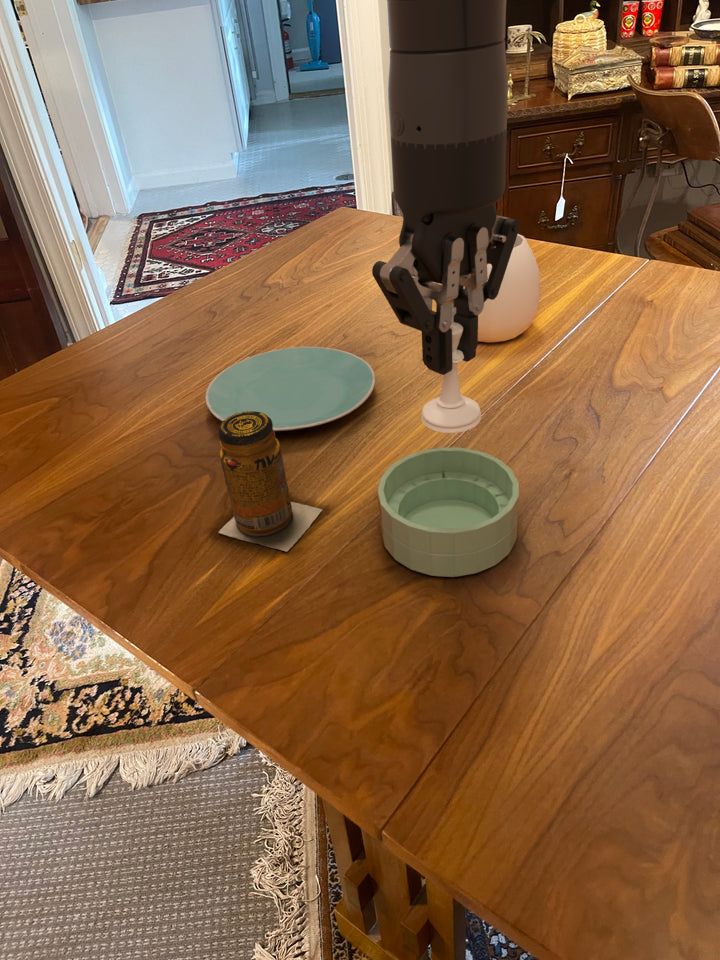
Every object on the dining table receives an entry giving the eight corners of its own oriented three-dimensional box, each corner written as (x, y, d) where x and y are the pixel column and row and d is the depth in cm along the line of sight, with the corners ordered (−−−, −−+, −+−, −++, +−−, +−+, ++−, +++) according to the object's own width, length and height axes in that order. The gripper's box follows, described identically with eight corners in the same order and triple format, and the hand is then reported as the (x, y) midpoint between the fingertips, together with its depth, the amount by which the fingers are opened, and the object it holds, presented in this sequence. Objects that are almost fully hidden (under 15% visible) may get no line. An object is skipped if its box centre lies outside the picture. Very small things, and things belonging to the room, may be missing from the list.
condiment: (256, 493, 81) (235, 400, 74) (322, 510, 78) (308, 414, 71) (218, 534, 76) (192, 438, 69) (287, 554, 73) (267, 455, 66)
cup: (537, 311, 112) (542, 223, 104) (538, 351, 102) (544, 256, 94) (450, 312, 115) (449, 226, 107) (443, 351, 104) (441, 259, 96)
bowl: (533, 511, 75) (537, 463, 71) (489, 597, 66) (490, 547, 62) (415, 482, 80) (413, 436, 77) (359, 559, 71) (353, 511, 68)
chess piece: (412, 427, 60) (406, 313, 54) (433, 398, 63) (430, 288, 57) (470, 438, 58) (470, 320, 52) (488, 407, 62) (491, 293, 56)
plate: (273, 351, 109) (270, 334, 107) (406, 378, 99) (405, 359, 98) (174, 426, 94) (168, 407, 93) (318, 466, 84) (315, 445, 83)
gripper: (414, 156, 42) (424, 416, 52) (560, 108, 49) (544, 345, 59) (329, 142, 46) (354, 383, 57) (473, 100, 53) (472, 321, 64)
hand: (451, 362), depth 58 cm, fingers closed on chess piece
